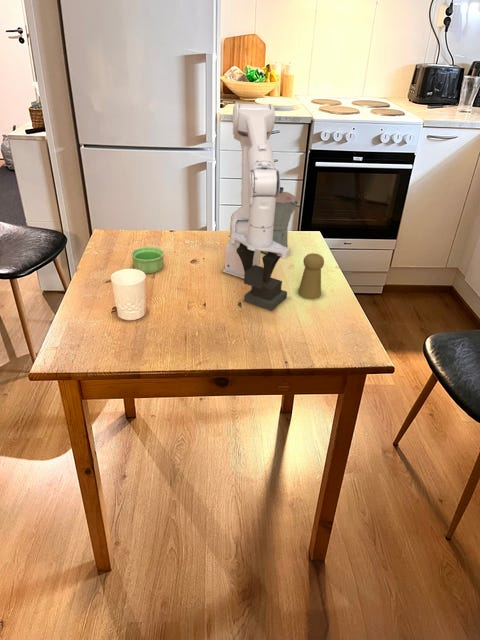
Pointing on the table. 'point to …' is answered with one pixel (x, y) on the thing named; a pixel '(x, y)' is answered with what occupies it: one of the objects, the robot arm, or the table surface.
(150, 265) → the ramekin
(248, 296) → the base pad
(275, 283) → the middle pad
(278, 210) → the moka pot
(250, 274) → the top pad
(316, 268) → the olive game pawn
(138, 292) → the white cup
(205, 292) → the table surface
